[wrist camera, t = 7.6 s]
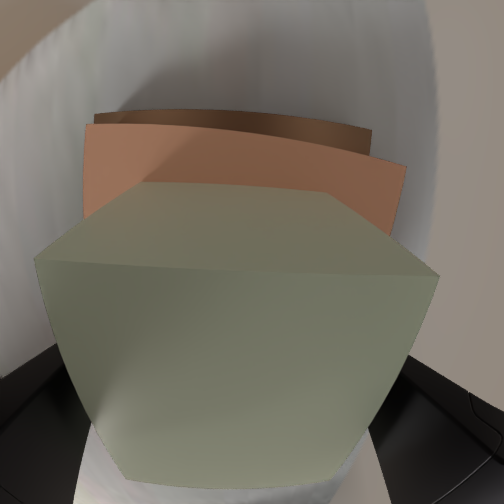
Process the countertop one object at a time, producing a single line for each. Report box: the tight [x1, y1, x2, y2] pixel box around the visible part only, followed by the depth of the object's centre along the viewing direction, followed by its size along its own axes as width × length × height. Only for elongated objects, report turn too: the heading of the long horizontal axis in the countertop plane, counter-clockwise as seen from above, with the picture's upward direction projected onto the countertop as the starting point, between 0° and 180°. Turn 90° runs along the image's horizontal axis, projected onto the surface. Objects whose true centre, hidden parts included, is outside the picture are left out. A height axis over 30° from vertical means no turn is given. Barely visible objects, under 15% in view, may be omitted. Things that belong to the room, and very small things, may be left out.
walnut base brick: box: [94, 109, 372, 156], centre depth 15 cm, size 12×12×3 cm
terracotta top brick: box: [83, 124, 407, 236], centre depth 12 cm, size 11×11×3 cm
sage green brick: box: [34, 182, 440, 489], centre depth 8 cm, size 6×7×6 cm
